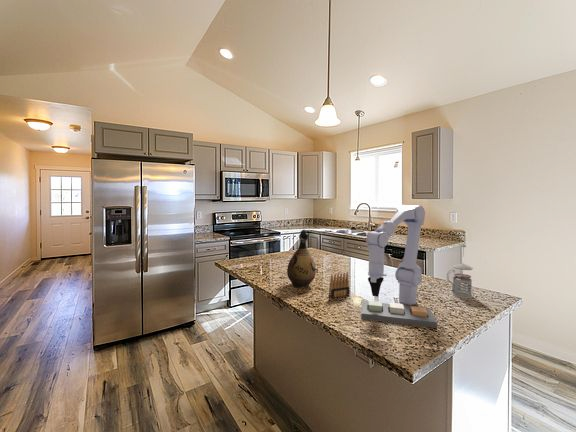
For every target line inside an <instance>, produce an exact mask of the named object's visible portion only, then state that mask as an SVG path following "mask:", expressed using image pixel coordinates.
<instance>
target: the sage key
mask: <svg viewBox="0 0 576 432" xmlns="http://www.w3.org/2000/svg"><path fill="white" fill-rule="evenodd" d="M368 301H369V310H371V311H379V312H382V303H383V302H382V301H380V300H379V301H378V300H368Z"/></svg>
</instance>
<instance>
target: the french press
mask: <svg viewBox="0 0 576 432" xmlns="http://www.w3.org/2000/svg"><path fill="white" fill-rule="evenodd" d="M461 247H462V248H463V249H462V256H464V253H465V252H464V251H465V250H464V249H465V248H467V245H466V244H464V243H463V244H462V245H461ZM453 268H454V269H453ZM453 268H452V269H449V271H447V273H446V280H447V281H448V283H450V284H451V285H452V289H451V290H452V291H450V292H449V294H450V295H451V296H452V297H456V298H460V297H461V299H473V298H474V296H473V294H472V281H473V280H472V279H471V278H472V276H471V275H469V274H465V273H464V271H472V270H473V269H474V268H473V267H471V266H470V265H468V264H466V263H458V264H455V265H453ZM455 269H456V270H461V272H462V273H456V270H455ZM452 272H453V273H454V274H453V277H452V282H450V278H449V277H450V273H452ZM472 297H473V298H472Z"/></svg>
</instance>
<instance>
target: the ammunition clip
mask: <svg viewBox="0 0 576 432" xmlns="http://www.w3.org/2000/svg"><path fill="white" fill-rule="evenodd" d="M349 279H350V278H349V273H348V272H346V273H345V272H343V273H342V272H340V274H339V273H337V275H336V273H334V275H333V274H332V273H331V274H330V280H329V281H330V282H329V289H328V299H334V298H335V299H336V298H340V297H346V296H350V286H349V284H350V281H349Z"/></svg>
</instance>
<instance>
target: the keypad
mask: <svg viewBox="0 0 576 432" xmlns="http://www.w3.org/2000/svg"><path fill="white" fill-rule="evenodd" d="M369 301H370V300H363V301H362V307H361V314H360V315H361V319H363V320H370V321H377V322H378V321H379V322H385V323H387V322H388V323H393V324H394V323H395V324H402V325H408V326H409V325H410V326H418V327H425V328H434V329H437V328H438V320H436V317H435V315H434V313H433V312H432V310H431V308H430V307H424V306H423V308H425V309H426V311H427V317H423V316H414V315H411V306H412V305H407V304H403V306H404V314H397V313H390V311H389V304H390V303H387V302H382V312H379V311H371V310H369ZM414 307H417V306H416V305H415V306H414Z"/></svg>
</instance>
